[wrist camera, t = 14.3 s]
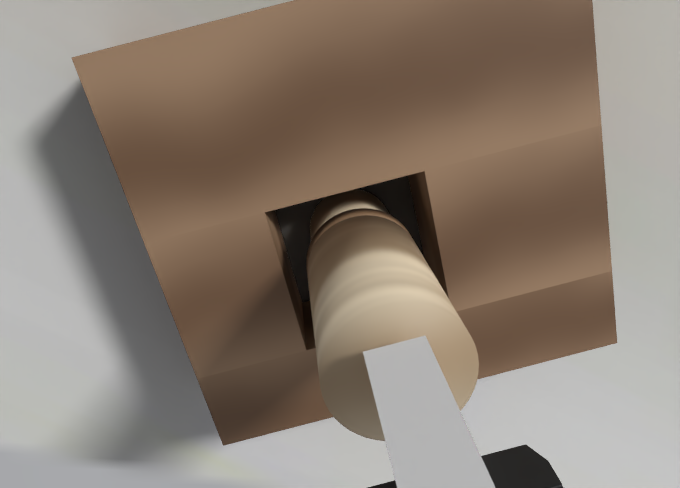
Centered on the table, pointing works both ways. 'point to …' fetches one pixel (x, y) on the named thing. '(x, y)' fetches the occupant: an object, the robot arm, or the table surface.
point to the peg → (375, 306)
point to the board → (363, 176)
